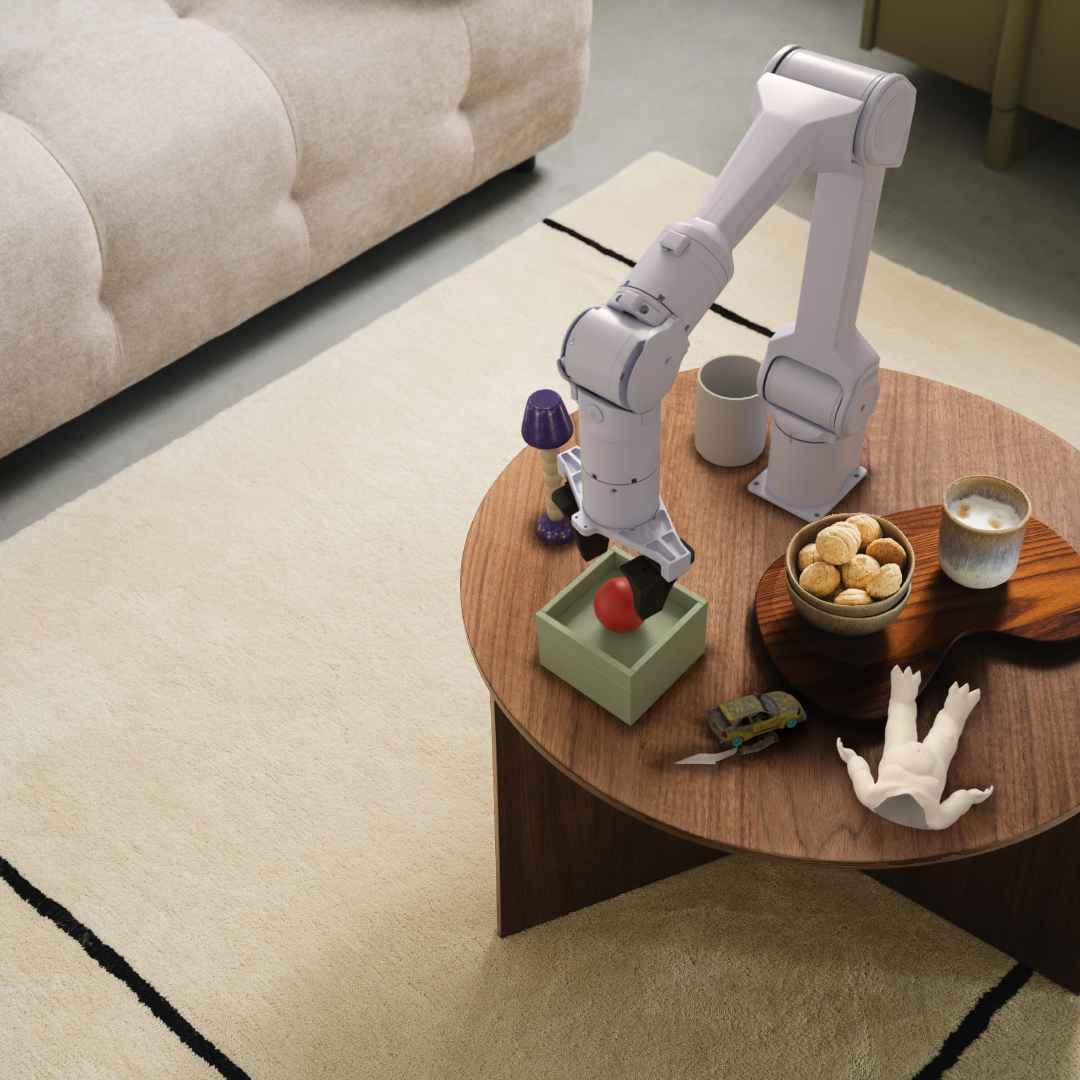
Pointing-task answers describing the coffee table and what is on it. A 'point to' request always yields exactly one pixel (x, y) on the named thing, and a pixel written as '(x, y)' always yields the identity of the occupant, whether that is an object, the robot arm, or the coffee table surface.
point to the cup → (730, 411)
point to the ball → (616, 606)
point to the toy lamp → (549, 456)
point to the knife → (732, 751)
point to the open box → (619, 642)
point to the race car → (754, 716)
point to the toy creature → (916, 760)
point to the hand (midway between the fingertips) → (621, 583)
